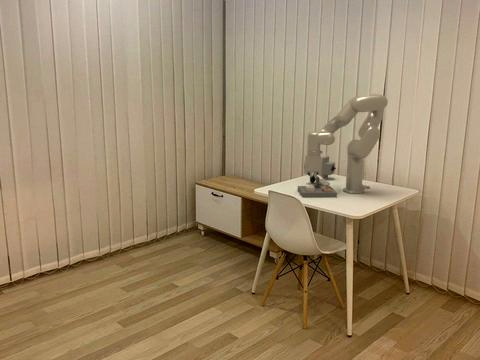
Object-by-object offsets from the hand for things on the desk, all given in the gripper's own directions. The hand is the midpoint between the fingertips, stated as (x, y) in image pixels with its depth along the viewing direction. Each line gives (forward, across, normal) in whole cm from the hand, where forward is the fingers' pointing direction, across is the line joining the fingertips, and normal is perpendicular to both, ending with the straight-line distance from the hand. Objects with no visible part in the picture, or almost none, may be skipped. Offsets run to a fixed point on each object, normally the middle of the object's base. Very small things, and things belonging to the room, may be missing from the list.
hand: (312, 183), depth 284 cm
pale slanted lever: (+6, -8, -19) cm, 22 cm away
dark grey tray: (+6, -2, +4) cm, 7 cm away
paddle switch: (+2, -3, 0) cm, 4 cm away
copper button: (+5, -7, +8) cm, 12 cm away
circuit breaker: (+6, -16, -36) cm, 40 cm away
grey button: (+3, +3, +9) cm, 9 cm away
